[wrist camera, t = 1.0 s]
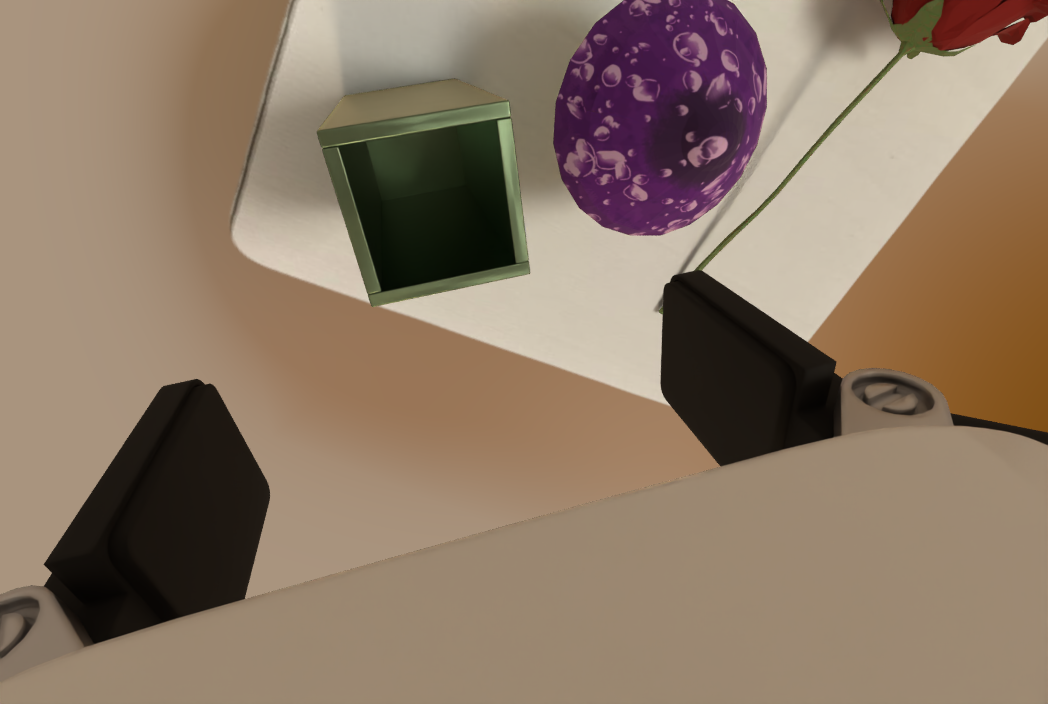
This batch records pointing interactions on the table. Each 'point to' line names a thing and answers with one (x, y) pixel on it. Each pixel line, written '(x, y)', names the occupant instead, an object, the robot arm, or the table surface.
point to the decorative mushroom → (660, 113)
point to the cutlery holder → (427, 188)
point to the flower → (930, 49)
